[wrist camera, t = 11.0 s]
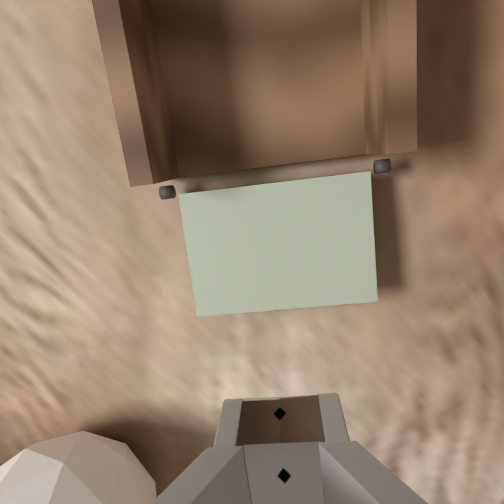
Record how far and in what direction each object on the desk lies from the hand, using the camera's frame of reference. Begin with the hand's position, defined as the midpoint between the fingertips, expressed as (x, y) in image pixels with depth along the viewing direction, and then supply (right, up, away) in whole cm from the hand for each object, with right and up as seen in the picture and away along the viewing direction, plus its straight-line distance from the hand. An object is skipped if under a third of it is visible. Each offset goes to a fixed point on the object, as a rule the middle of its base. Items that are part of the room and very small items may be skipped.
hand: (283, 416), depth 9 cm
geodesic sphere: (-14, -14, +21) cm, 29 cm away
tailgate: (0, +9, +12) cm, 15 cm away
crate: (-1, +18, +12) cm, 21 cm away
